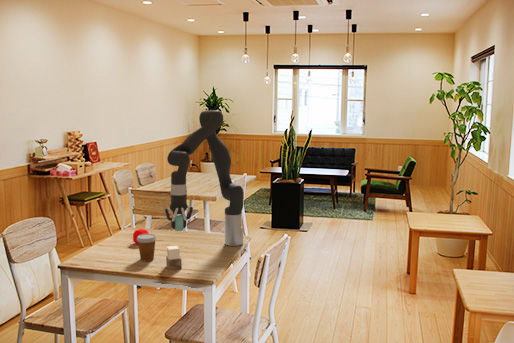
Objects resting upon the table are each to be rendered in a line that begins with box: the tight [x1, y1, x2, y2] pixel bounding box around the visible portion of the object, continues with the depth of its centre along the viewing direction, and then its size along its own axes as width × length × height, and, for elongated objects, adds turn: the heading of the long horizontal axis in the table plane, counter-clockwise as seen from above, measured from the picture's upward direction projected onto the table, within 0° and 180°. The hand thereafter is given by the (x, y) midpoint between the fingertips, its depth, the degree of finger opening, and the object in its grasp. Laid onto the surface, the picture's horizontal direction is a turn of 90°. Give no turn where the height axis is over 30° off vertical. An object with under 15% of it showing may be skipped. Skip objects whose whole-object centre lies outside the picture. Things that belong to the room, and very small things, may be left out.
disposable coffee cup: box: [137, 233, 157, 262], centre depth 252 cm, size 10×10×12 cm
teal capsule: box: [173, 214, 185, 232], centre depth 242 cm, size 4×4×7 cm
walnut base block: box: [165, 255, 182, 271], centre depth 241 cm, size 6×6×5 cm
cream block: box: [166, 245, 181, 260], centre depth 241 cm, size 5×5×5 cm
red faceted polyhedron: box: [132, 228, 150, 245], centre depth 278 cm, size 8×8×8 cm
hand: (178, 228), depth 242 cm, fingers closed on teal capsule, 4 cm apart
